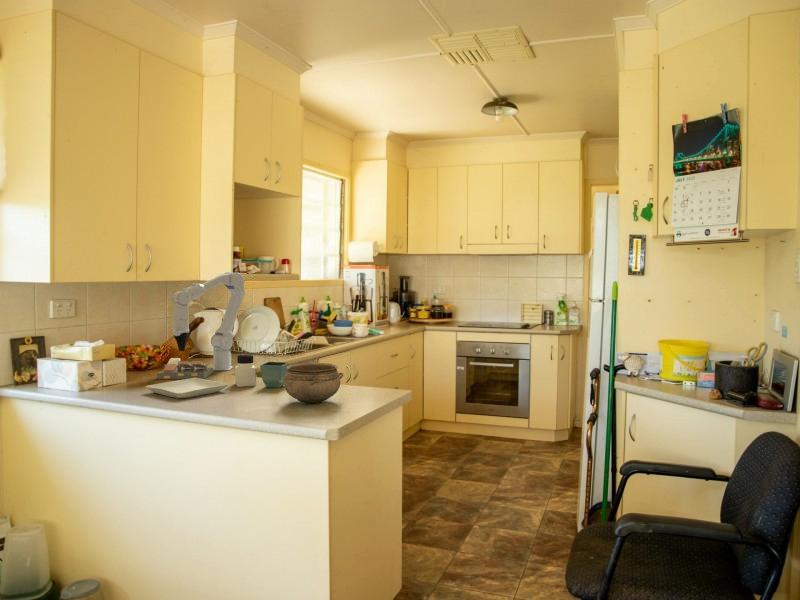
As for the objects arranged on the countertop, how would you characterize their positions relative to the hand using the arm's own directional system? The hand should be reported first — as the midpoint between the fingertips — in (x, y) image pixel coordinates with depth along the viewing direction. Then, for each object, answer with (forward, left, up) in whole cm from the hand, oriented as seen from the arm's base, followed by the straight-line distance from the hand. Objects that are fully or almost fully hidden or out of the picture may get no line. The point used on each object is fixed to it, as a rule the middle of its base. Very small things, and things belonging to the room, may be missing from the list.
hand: (182, 351), depth 267 cm
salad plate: (+41, +14, -10) cm, 45 cm away
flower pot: (+30, +44, -10) cm, 54 cm away
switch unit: (+5, +3, -10) cm, 11 cm away
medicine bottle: (+26, +32, -10) cm, 42 cm away
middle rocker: (+5, +3, -6) cm, 8 cm away
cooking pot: (+59, +61, -10) cm, 85 cm away
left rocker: (+5, -2, -6) cm, 8 cm away
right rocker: (+5, +9, -6) cm, 12 cm away
